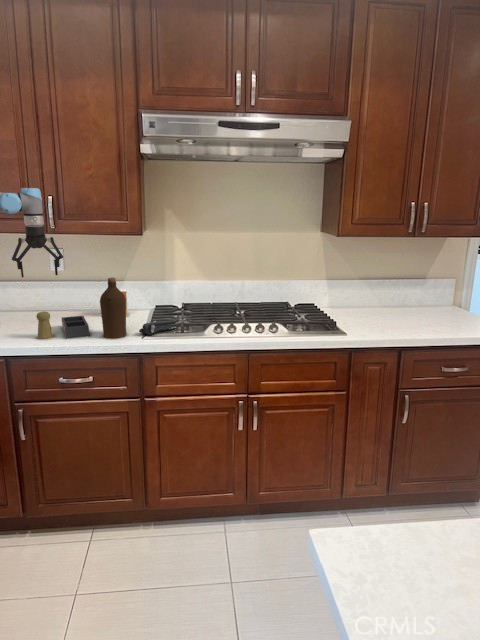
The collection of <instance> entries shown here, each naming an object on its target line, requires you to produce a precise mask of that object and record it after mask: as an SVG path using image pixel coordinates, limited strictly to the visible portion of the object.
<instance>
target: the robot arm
mask: <svg viewBox="0 0 480 640" xmlns="http://www.w3.org/2000/svg"><path fill="white" fill-rule="evenodd" d="M43 208H44V207H43V199H42V193H41V190H40V189H39V188H38V187H21V188H20V192H4V191H3V192H1V191H0V213H1V214H10V215H14V214H17V213H22V212H23V220H24V222H23V223H24V226H25V227H24V230H25V238H24V237H23V238H21V237H18V239H17V245H16V247H15V249H14V251H13V254H12V256H11V261H13V262H16V267H17V270H20V275H21V278H25V277H24V267H23V261H22V259H23V258H24V257H25V255H26V254H27V253H28V252H29V251H30V249H42V248H43V249H45V250H46V252H48V253H49V254H50V255H51V256H52V257H53V258H54V260H53V264H54V274H55V276H58V275H59V274H58V273H59V272H58V268H60V265H61V264H60V260H61V259H64V256H63V254H62V252H61V251H60V249H59V247H58V246H57V244H56V243H55V240H54V237H53V236H50V237H47V236H46V229H45V226H44V225H45V219H44V210H43ZM47 242H48V243H49V244H51V245H52V247H53V249H54V251H56V253H57V254H58V255H56V253H54V252H53V250H52V249H50V248H49V247H48V246H47V245H46V244H47ZM24 243H26V244H27V245H26V247H25V248H24V249H23V251H22V252H21V253H20V254H19V252H20V249H21V246H22V244H24ZM18 254H19V255H18ZM17 256H18V257H17Z"/></svg>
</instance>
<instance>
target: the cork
mask: <svg viewBox="0 0 480 640" xmlns="http://www.w3.org/2000/svg"><path fill="white" fill-rule="evenodd" d="M36 319H37V321H38V322H37V339H38V340H50V339H53V338H54V334H53V331H52V330H53V329H52V326H51V322H50V319H51V313H50V312H48V311H39V312H37V314H36Z"/></svg>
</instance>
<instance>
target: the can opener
mask: <svg viewBox="0 0 480 640" xmlns="http://www.w3.org/2000/svg"><path fill="white" fill-rule="evenodd" d="M175 324H177V321H175V320H159V321H156V320H154V321H151V322H146V323H144V324H143V325H142V328H139V330H138V332H139V333H141V334H145V335H148V336H152V335H155V334H156V333H158V332H161V331H172V330H175V329H177V327H176V328H173V329H169V328H171V327H173V326H174V325H175ZM166 329H168V330H166ZM160 330H161V331H160ZM153 333H154V334H153Z"/></svg>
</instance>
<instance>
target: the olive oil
mask: <svg viewBox="0 0 480 640" xmlns="http://www.w3.org/2000/svg"><path fill="white" fill-rule="evenodd" d="M116 280H117V279H116V277H108V278H107V288H106V289H105V290H104V292H103V293H101V295H100V297H99V306H100V315H101V324H102V332H103V334H102V335H103V337H104V338H105V339H110V340H117V339H122V338H124V337H126V336H127V317H126V298H125V296H124V294H123V293H122V292H121V291H120V290H119V289H120V288H118V286H117V281H116Z"/></svg>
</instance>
